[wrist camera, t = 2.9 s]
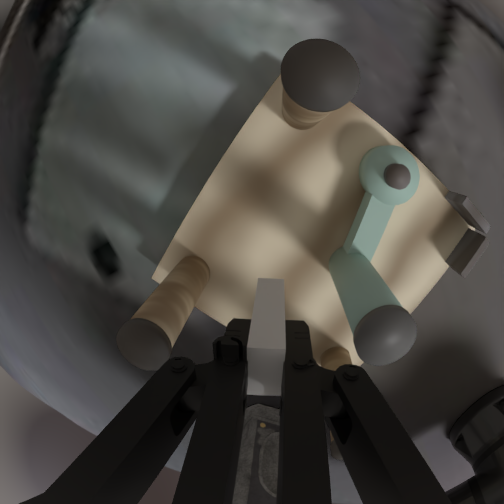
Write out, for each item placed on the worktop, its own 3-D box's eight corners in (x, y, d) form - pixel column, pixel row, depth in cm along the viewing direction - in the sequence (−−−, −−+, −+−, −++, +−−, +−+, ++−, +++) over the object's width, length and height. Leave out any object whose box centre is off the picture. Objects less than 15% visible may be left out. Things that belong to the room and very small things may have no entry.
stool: (464, 218, 24) (557, 268, 11) (333, 372, 31) (350, 473, 18) (288, 70, 21) (296, -9, 9) (160, 268, 28) (86, 348, 15)
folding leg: (369, 136, 20) (438, 127, 10) (416, 160, 20) (500, 172, 10) (315, 273, 24) (335, 356, 14) (361, 289, 24) (401, 371, 14)
